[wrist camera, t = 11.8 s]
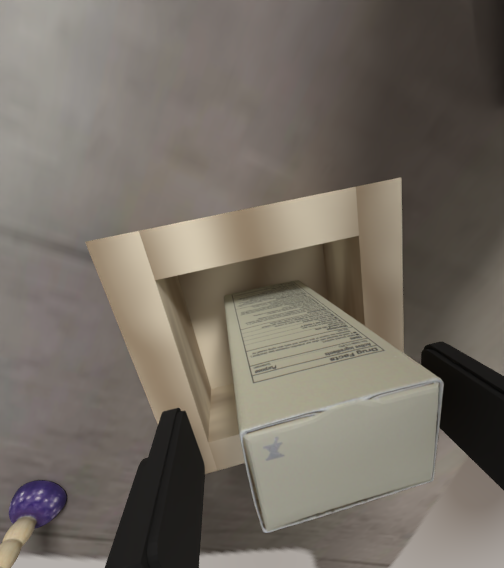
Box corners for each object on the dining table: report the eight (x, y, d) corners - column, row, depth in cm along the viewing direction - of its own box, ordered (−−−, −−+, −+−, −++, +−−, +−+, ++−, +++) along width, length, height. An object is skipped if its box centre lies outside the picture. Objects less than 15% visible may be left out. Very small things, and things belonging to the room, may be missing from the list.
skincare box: (232, 343, 19) (252, 543, 7) (222, 293, 18) (224, 436, 6) (309, 327, 19) (442, 490, 8) (304, 277, 18) (452, 380, 7)
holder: (343, 190, 18) (401, 177, 12) (357, 367, 22) (404, 418, 17) (131, 234, 17) (85, 241, 11) (191, 410, 21) (180, 481, 16)
